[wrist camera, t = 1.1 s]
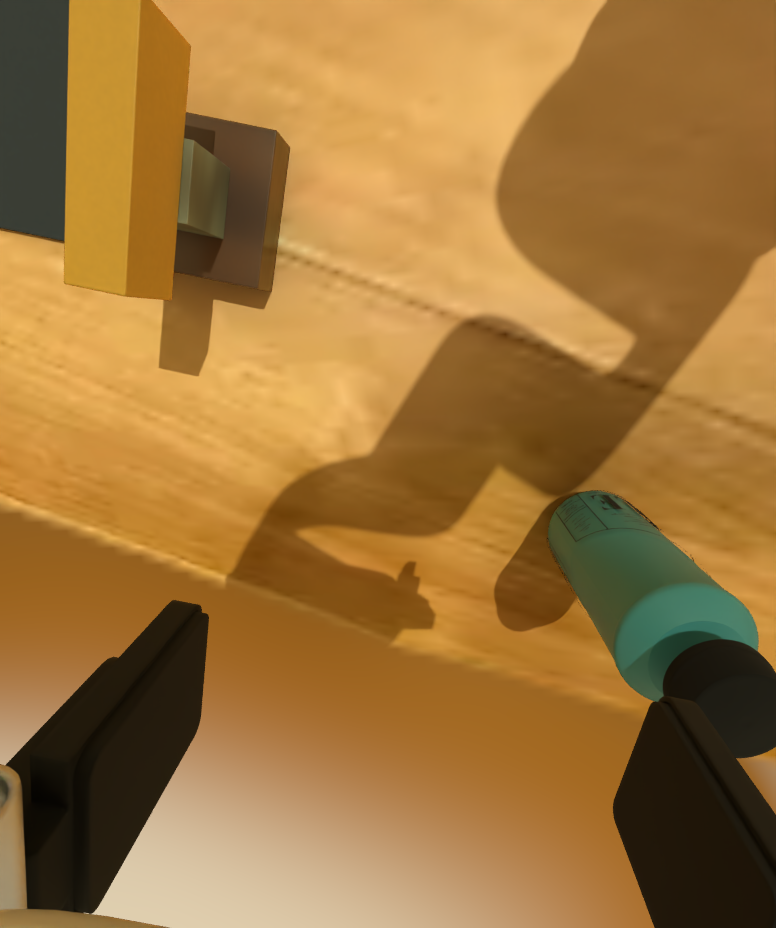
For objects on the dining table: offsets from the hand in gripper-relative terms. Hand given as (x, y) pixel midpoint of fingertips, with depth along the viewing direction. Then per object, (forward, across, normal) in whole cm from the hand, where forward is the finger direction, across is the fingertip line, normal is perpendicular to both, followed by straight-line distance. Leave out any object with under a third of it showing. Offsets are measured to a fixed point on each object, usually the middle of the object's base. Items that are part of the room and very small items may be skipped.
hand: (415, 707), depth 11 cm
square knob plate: (+28, +17, -12) cm, 35 cm away
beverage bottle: (+28, -13, +4) cm, 31 cm away
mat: (+28, +32, -17) cm, 45 cm away
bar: (+20, +17, -12) cm, 29 cm away
